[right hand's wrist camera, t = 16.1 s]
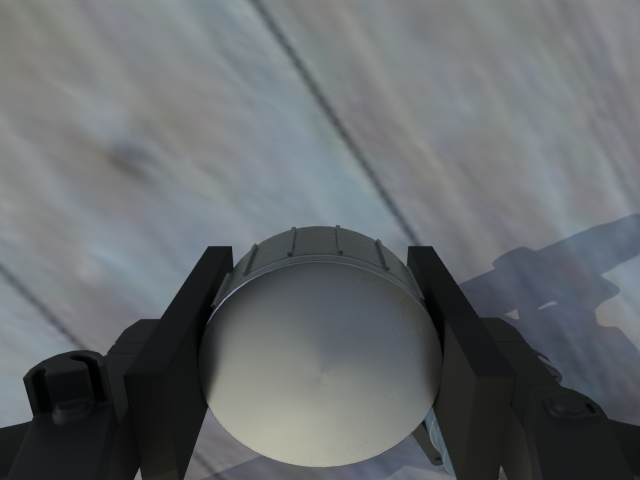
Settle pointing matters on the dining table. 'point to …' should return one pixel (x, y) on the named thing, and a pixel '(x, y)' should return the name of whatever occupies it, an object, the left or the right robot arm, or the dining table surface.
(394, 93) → the dining table surface
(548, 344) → the dining table surface
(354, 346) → the lid
